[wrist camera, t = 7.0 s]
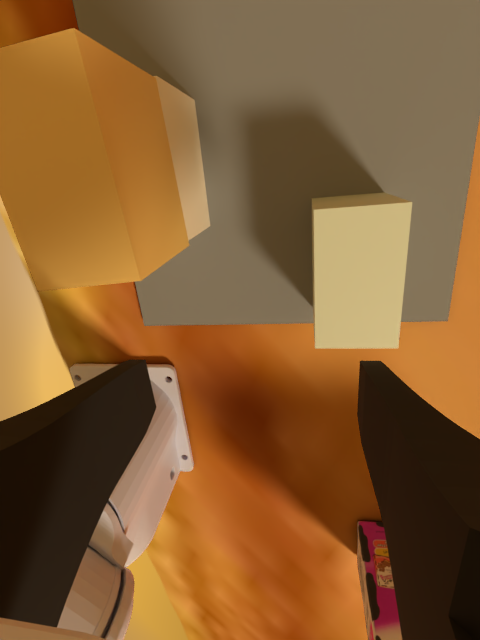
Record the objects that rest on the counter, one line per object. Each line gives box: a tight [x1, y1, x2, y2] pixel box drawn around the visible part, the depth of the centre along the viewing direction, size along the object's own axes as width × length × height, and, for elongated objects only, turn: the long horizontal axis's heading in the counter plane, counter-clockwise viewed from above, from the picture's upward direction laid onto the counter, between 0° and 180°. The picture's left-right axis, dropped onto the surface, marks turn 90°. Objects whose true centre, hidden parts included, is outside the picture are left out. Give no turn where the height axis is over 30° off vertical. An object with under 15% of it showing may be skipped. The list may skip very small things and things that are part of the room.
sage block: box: [312, 192, 412, 348], centre depth 16 cm, size 6×4×5 cm, turn 5°
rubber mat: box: [72, 0, 480, 326], centre depth 17 cm, size 18×18×1 cm
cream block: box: [153, 76, 210, 241], centre depth 16 cm, size 6×4×5 cm, turn 6°
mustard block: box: [0, 28, 189, 291], centre depth 12 cm, size 6×4×5 cm, turn 8°
